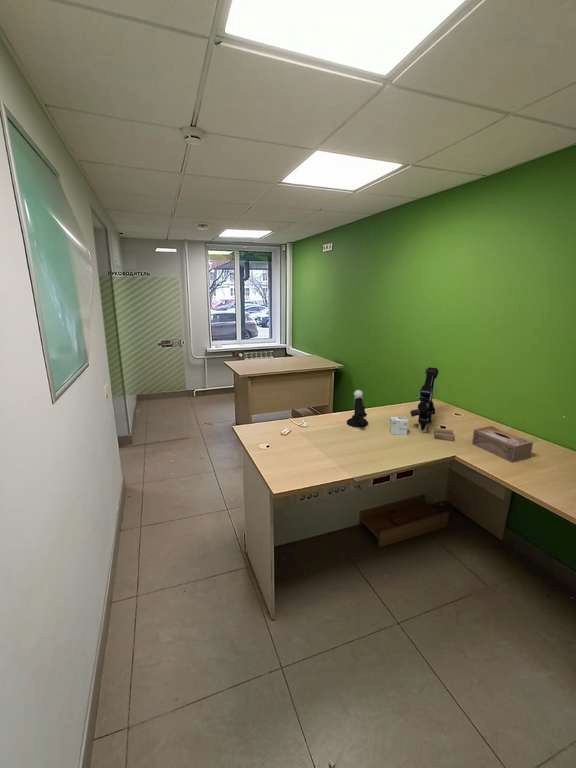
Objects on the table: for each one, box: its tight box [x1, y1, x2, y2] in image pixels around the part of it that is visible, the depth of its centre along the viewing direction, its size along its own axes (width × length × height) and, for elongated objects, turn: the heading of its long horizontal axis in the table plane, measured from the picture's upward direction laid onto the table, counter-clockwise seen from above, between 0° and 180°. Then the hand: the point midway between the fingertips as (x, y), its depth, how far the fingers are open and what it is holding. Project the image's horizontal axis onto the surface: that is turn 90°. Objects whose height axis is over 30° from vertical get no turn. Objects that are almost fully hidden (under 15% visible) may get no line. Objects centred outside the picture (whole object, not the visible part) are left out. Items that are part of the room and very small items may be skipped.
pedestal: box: [433, 428, 455, 442], centre depth 217 cm, size 11×11×3 cm
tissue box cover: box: [471, 425, 534, 463], centre depth 197 cm, size 26×14×10 cm, turn 21°
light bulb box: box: [389, 416, 409, 436], centre depth 223 cm, size 11×7×11 cm, turn 84°
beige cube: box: [417, 423, 428, 433], centre depth 227 cm, size 5×5×6 cm
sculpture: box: [346, 389, 369, 428], centre depth 234 cm, size 15×24×25 cm, turn 1°
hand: (422, 428), depth 227 cm, fingers open, 5 cm apart
